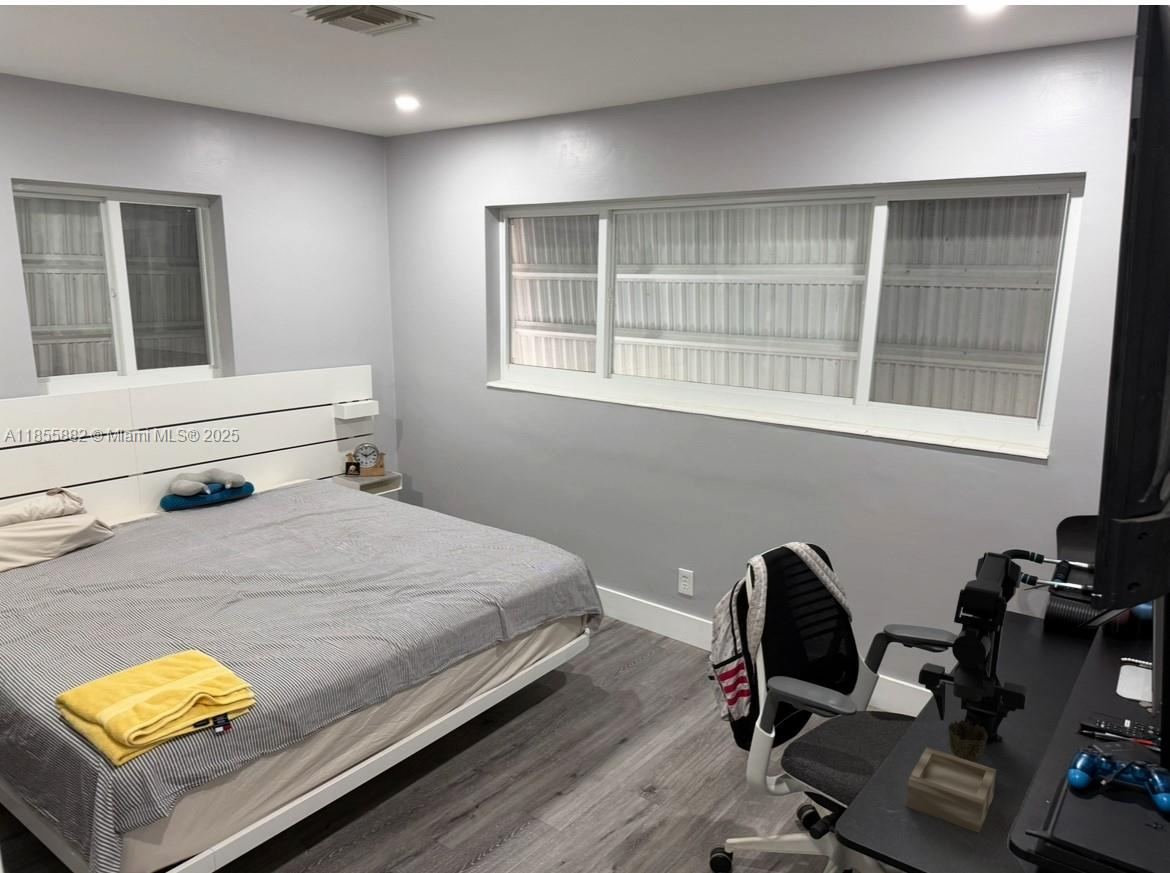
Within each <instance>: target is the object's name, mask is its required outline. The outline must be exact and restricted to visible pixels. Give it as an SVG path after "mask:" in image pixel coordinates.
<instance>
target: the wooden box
mask: <svg viewBox="0 0 1170 873" xmlns="http://www.w3.org/2000/svg"><path fill="white" fill-rule="evenodd" d="M996 775H997V769H995V768H993V767H992V768H991V767H989V766H986V765H983V764H981V763H980V764H979V763H976V762H975V763H974V762H971V761H968V760H965V759H962V758H958V757H956V756H954V755H952V754H949V753H946V752H943V751H939V750H936V749H934V748H930V747H927V746H926V747H925V749H924V751H923V753H922V754H921V756H920V758H919V760H918V761H917V763H916V765H915V767H914V769H913V770H912V772H911V774H910V775H909V777H908V784H907V785H908V786H907V795H906V796H907V797H906V807H908V808H910V809H913V810H915V811H918V812H921V813H924V814H926V815H929V816H931V817H935V818H938V819H940V820H942V821H945V822H948V823H951V824H954V825H956V826H958V827H962V828H965V829H967V830H969V831H973V832H975V833H978V834H980V833H981V830H982V828H983V826H984V822H985V820H986V817H987V814H988V812H989V809H990V806H991V804H992V801H993V799H994V795H995V786H996V785H995V784H996Z"/></svg>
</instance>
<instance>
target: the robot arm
mask: <svg viewBox="0 0 1170 873" xmlns="http://www.w3.org/2000/svg"><path fill="white" fill-rule="evenodd" d="M975 578H976V579H972V580H968V581H967V583H966V584H965V585H964V588H962V589H960V591H959V594H958V599H957V605H956V610H955V614H954V619H953V622H954V623H956V624H960V625H961V630H960V631H959V633H958V635H957V636H956V638H955V640H954V641H953V644H952V646H951V647H952V648H951V649H952V650H951V651H952V655H953V656H954V658H955V660H956V661H957V666H956V668H955V670H954V674H951V673H949V672H946V666H942V665H937V664H935V663H934V664H933V663H931V662H926V663H925V664H923V665H922V667H921V669H920V670H919V674H918V682H917V683H918V684H920V685H923V686H924V688H925V689H926V690H928V691H930V692H931V694H932V695H933V697H934V701H935V703H936V707H937V710H938V714H939V718H940V721H941V722H942V721H944V719H945V713H946V684H947V685H951V686H953V689H952V690H953V691H952V694H953V696H954V697H956V698H959V699H960V710H964V711H965V710H966V711H965V712H966V714H965V716H964V721H965V723H966V722H969V724H970V725H971V726H974V727H975V726H976V725H977V724H978V725H979V727H984V729H985V732H987V735H988V737H987V741H986V745H987V744H992V743H996V742H1000V741H1003V739H1004V738H1003V736H1001V735H999V733H998V729H999V726H1000V724H1002V721H1003V720H1004V719H1005V718H1008V716H1009V712H1017V710H1025V707H1026V703H1027V698H1028V688H1026V686H1025V685H1021V684H1017V683H1013V682H1008V681H1003V678H1002V677H1001V675H1000V672H999V671H998V669H999V661H1000V654H1001V653H1000V652H1001V645H1002V638H1003V630H1004V624H1005V618H1006V613H1007V610H1008V609H1007V608H1008V603H1009V602H1010V601H1011V600H1012V598H1013V597H1014V596H1015V595H1016V593H1017V589H1020V585H1021V581H1022V566H1020V565H1019V564H1018V563H1016V562H1014V561H1013V560H1012V557H1011V556H1009V555H1008V554H1003V553H997V552H992V551H988V552H984V554H983V556H982V557H980V558H978V559H977V564H976V570H975ZM961 613H962V614H961Z"/></svg>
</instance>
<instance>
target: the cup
mask: <svg viewBox="0 0 1170 873" xmlns="http://www.w3.org/2000/svg"><path fill="white" fill-rule="evenodd" d="M987 737H988V735H987V732H985V729H984V727H979V725H978V724H977V725H976V726H975V727H974V726H971V725H970V724H969V722H966V723H965V719H961V720H960V721H959V722H958V721H957V720H954V722H950V723H949V724H948V741H949V748H950V751H951V753H952V754H953V756H955V757H958V758H962V759H965V760H968V761H971V762H974V763H976V762H977V761H980V759H981V758H982V756H983V755H984V752H985V748H986V746H987V744H986V741H987Z"/></svg>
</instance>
